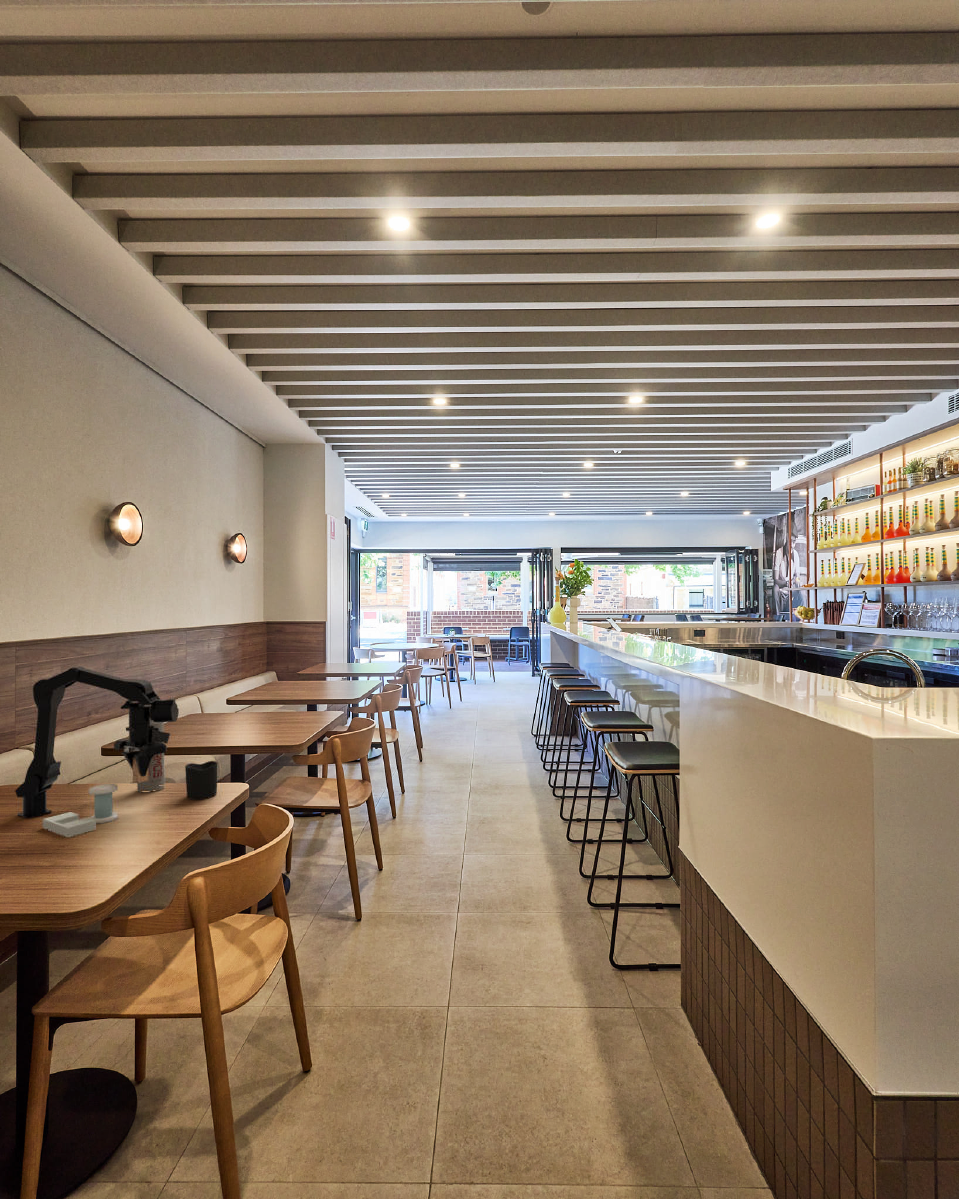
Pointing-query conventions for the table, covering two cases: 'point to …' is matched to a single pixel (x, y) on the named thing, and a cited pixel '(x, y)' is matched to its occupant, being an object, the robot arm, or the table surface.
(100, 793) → the bobbin
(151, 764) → the thermos bottle
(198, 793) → the pen holder
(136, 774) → the copper tab
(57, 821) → the notched board
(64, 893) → the table surface
